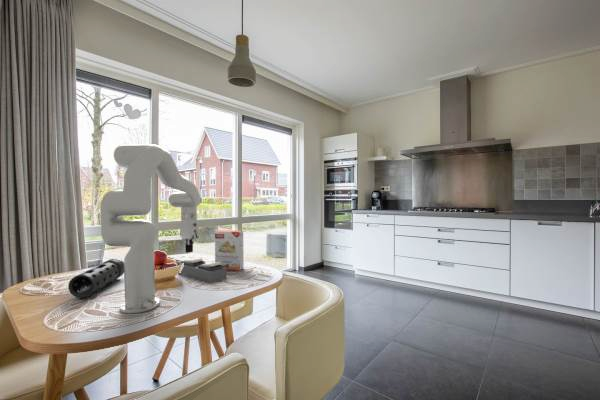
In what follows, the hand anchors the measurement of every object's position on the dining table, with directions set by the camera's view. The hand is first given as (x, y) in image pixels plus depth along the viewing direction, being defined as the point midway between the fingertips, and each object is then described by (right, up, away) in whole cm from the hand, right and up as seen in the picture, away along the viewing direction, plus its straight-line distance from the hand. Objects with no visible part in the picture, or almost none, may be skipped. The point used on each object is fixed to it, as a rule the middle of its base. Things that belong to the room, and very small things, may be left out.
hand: (189, 252), depth 145 cm
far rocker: (+2, -5, -1) cm, 5 cm away
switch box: (+8, -11, -5) cm, 14 cm away
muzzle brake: (-30, -12, -22) cm, 39 cm away
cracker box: (+19, -11, +7) cm, 23 cm away
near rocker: (+14, -5, -9) cm, 17 cm away
